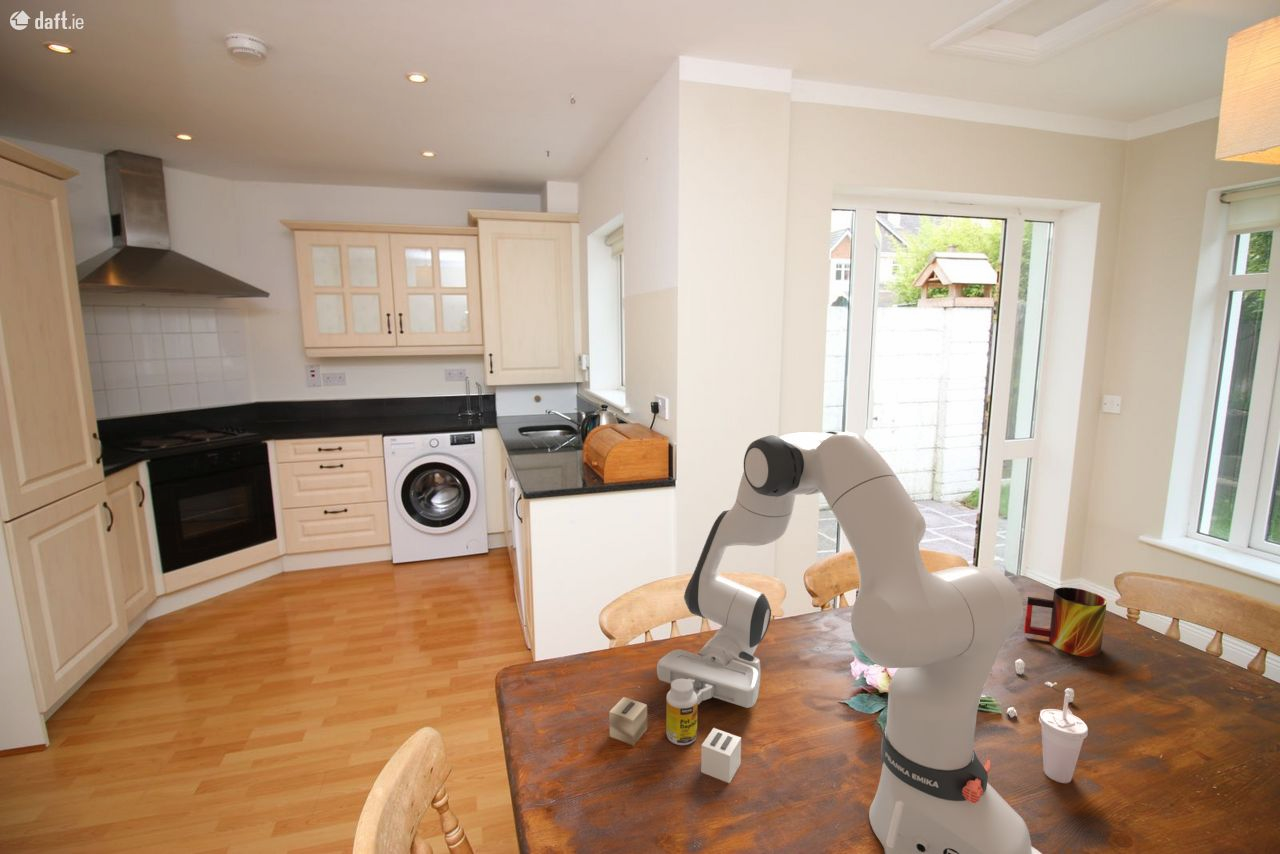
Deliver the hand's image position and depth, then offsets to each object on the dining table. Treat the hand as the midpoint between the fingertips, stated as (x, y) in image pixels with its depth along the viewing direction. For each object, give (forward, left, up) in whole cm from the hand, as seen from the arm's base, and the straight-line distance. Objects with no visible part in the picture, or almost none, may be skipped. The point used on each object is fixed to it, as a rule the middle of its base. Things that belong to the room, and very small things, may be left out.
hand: (691, 699), depth 108 cm
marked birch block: (+6, +10, -5) cm, 13 cm away
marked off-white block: (-11, +5, -5) cm, 13 cm away
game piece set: (-39, -53, -6) cm, 67 cm away
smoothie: (-50, -33, -5) cm, 61 cm away
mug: (-42, -82, -5) cm, 92 cm away
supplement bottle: (-1, +4, -5) cm, 7 cm away
